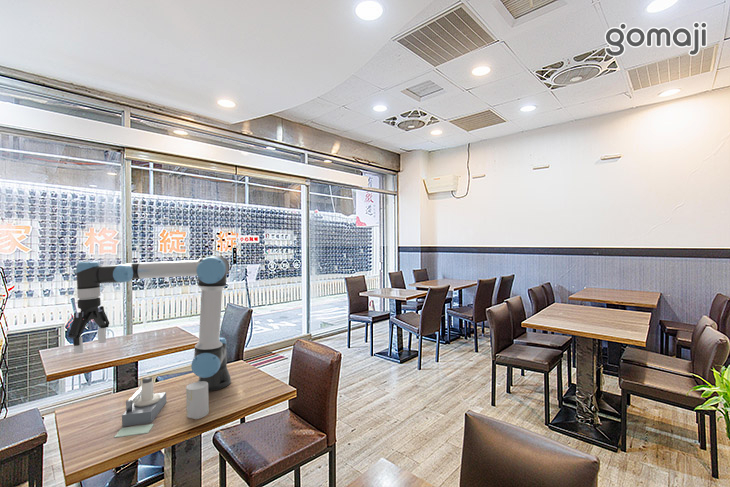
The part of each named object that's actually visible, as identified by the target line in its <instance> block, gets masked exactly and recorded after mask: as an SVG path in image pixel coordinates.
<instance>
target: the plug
mask: <svg viewBox="0 0 730 487" xmlns="http://www.w3.org/2000/svg"><path fill="white" fill-rule="evenodd" d="M140 387H141V397H139V398H138V399H137V400H136V401H135V402H134V405H135V406H137V407H144V406H149V405H152V404H155V403H157V402H158V401H159V400H160V399H161V396H160V395H159V394H153V393H154V380H153V378H152V376H148V377H144V378H142V379H141V382H140Z"/></svg>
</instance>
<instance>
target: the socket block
mask: <svg viewBox="0 0 730 487" xmlns="http://www.w3.org/2000/svg"><path fill="white" fill-rule="evenodd" d="M153 394H159V395H160V396H161V399H160V400H159V401H158V402H157V403H155V404H152V405H149V406H144V407H137V406H135V405H134V403H133V404H132V411H131V412H126V410H125V411H124V412H123V413H122V414H121V428H125V427H133V426H140V425H148V424H153V421H154V420H155V419H156V418H157V416H158V415H159V414H160V413H161V411H162V409H163V408H164V406H165V405H166V404H167V391H165V392H157V393H154V392H153ZM140 397H141V396H140Z"/></svg>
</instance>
